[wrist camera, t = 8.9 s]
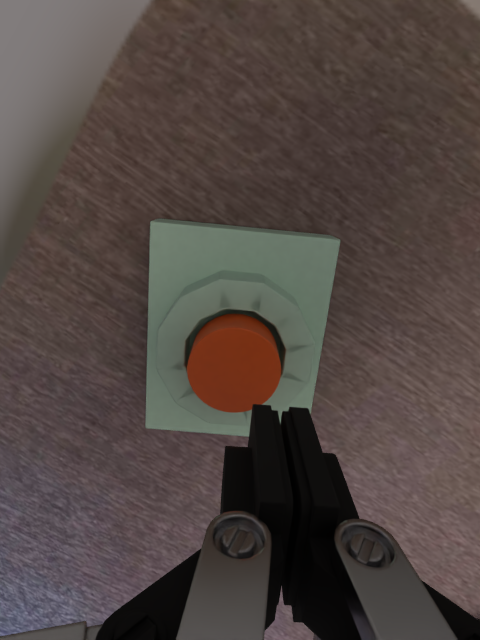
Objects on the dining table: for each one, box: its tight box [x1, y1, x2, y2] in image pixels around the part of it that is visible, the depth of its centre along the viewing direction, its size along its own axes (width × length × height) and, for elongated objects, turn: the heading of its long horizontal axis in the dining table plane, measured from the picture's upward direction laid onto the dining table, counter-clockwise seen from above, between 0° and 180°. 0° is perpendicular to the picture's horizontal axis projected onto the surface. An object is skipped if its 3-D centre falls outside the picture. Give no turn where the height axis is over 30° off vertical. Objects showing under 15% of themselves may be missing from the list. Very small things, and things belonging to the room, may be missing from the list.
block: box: [145, 218, 340, 437], centre depth 18 cm, size 10×8×4 cm
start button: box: [187, 314, 281, 413], centre depth 16 cm, size 4×4×2 cm
